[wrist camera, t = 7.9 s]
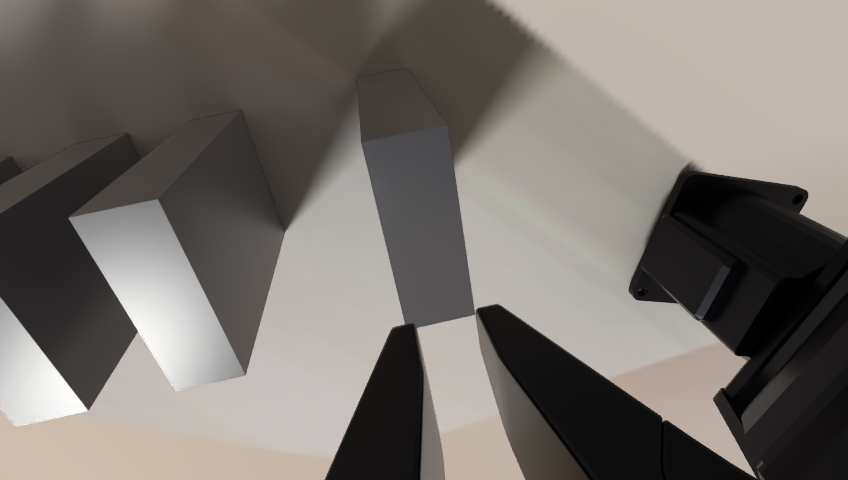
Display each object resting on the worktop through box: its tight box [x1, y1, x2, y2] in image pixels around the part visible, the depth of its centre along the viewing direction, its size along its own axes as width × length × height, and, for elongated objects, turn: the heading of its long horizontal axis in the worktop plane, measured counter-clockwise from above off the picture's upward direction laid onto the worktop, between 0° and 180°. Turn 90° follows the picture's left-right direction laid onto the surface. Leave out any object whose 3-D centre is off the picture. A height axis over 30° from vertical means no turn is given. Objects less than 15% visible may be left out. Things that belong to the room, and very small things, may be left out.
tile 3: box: [0, 133, 140, 427], centre depth 14 cm, size 2×5×8 cm, turn 9°
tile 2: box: [68, 110, 285, 391], centre depth 14 cm, size 2×5×8 cm, turn 9°
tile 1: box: [357, 68, 475, 328], centre depth 14 cm, size 2×5×8 cm, turn 9°
